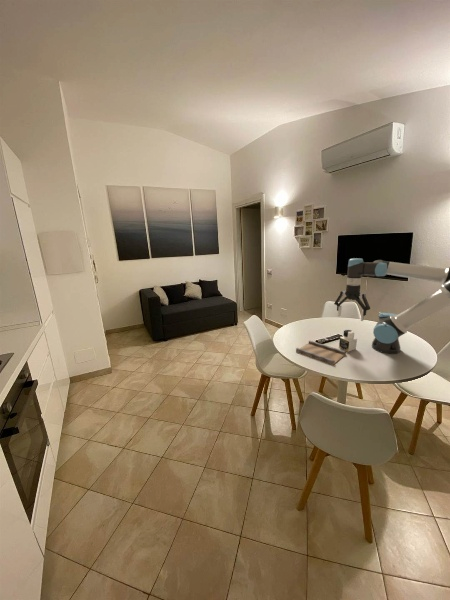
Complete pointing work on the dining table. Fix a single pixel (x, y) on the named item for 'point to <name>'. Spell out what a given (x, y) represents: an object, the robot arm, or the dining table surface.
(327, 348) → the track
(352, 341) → the medicine bottle
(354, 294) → the robot arm
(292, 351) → the dining table surface
